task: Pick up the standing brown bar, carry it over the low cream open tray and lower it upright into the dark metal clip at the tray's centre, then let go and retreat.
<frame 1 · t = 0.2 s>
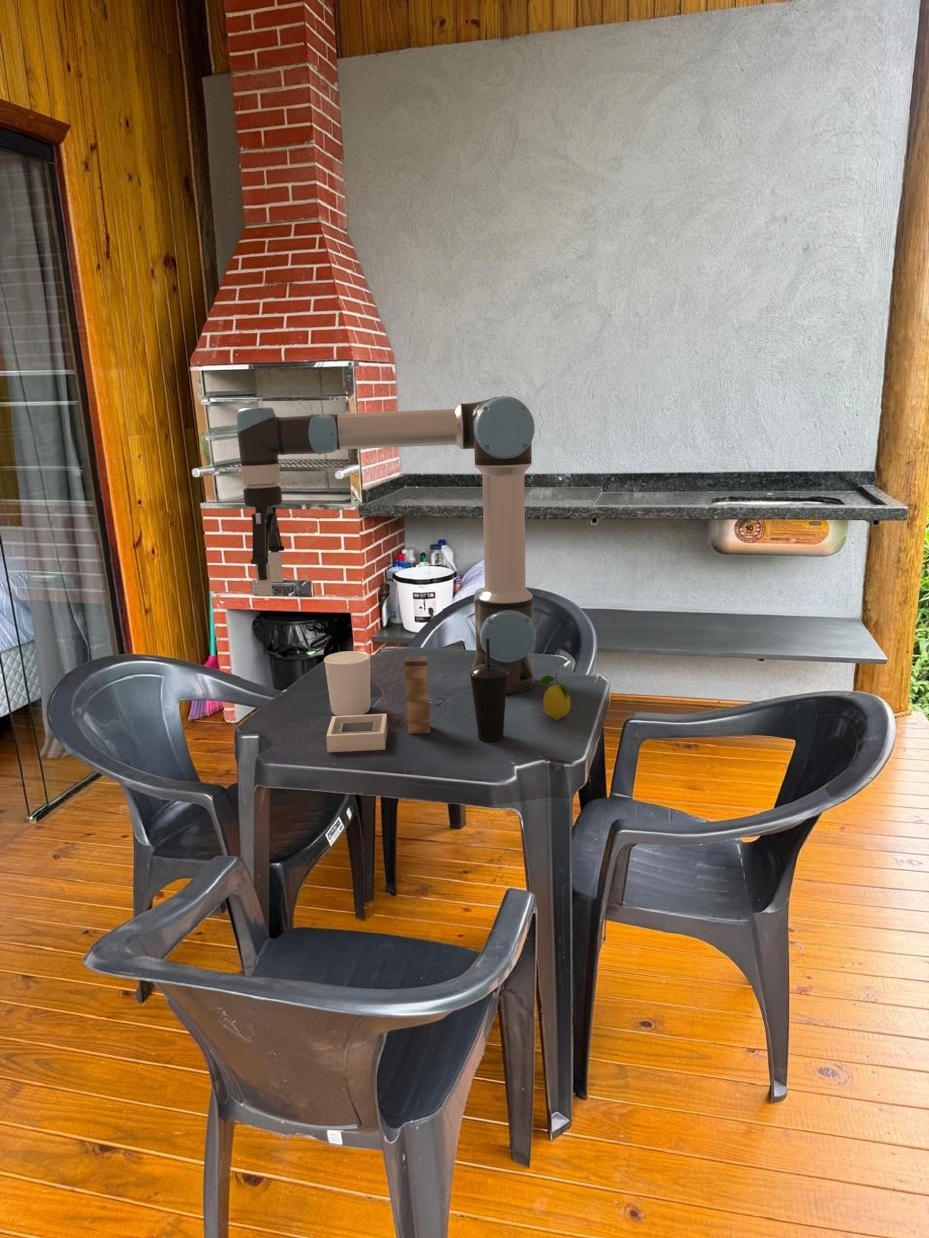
hand: (271, 588, 184), 28 cm above the table, fingers open, 13 cm apart
cream cup: (351, 711, 192), on the table
lemon: (556, 720, 181), on the table
cream open tray: (358, 740, 174), on the table
drinking cup: (490, 738, 173), on the table
brown bar: (419, 730, 178), on the table
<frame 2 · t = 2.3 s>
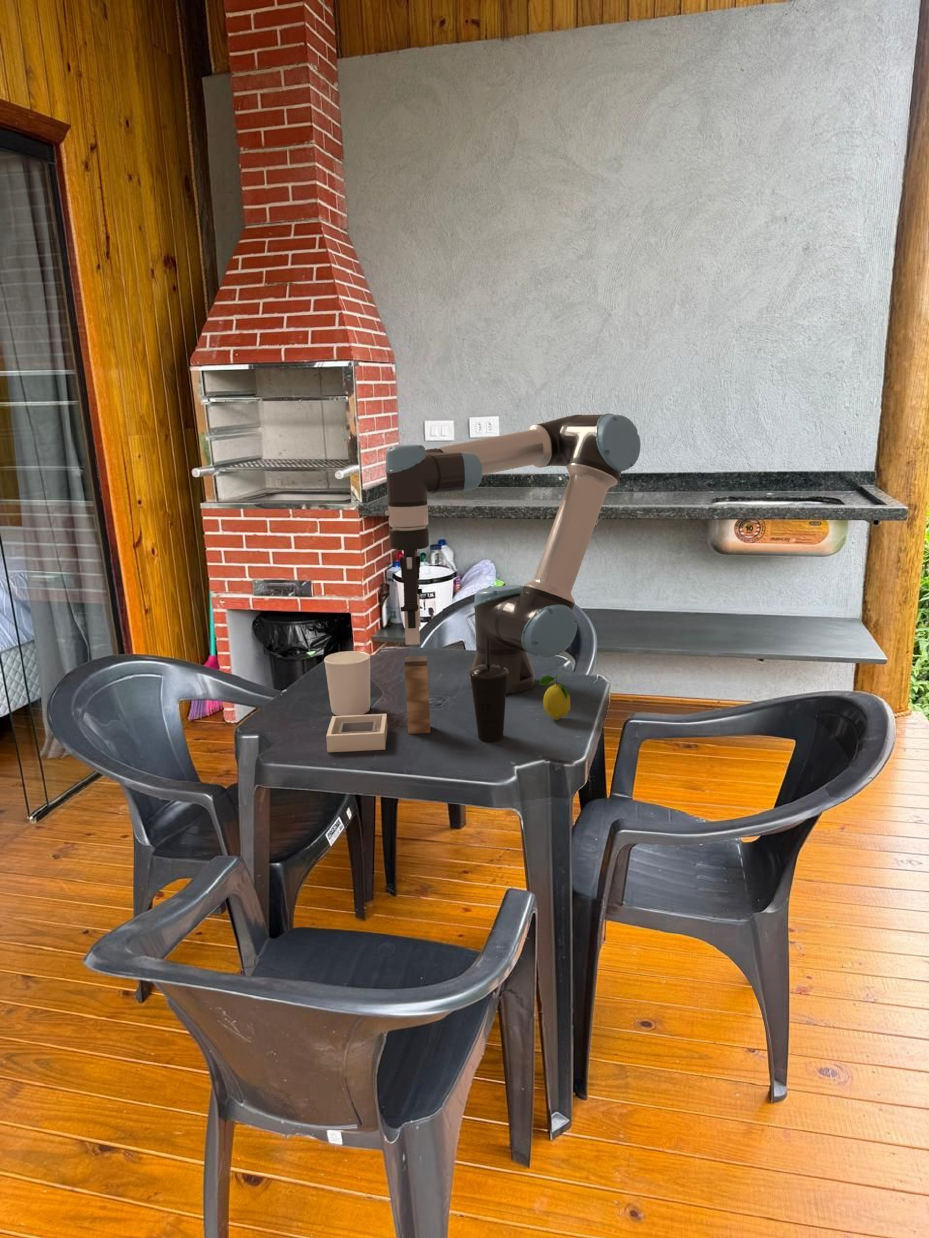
hand: (413, 635, 174), 20 cm above the table, fingers open, 13 cm apart
nothing on the table moved.
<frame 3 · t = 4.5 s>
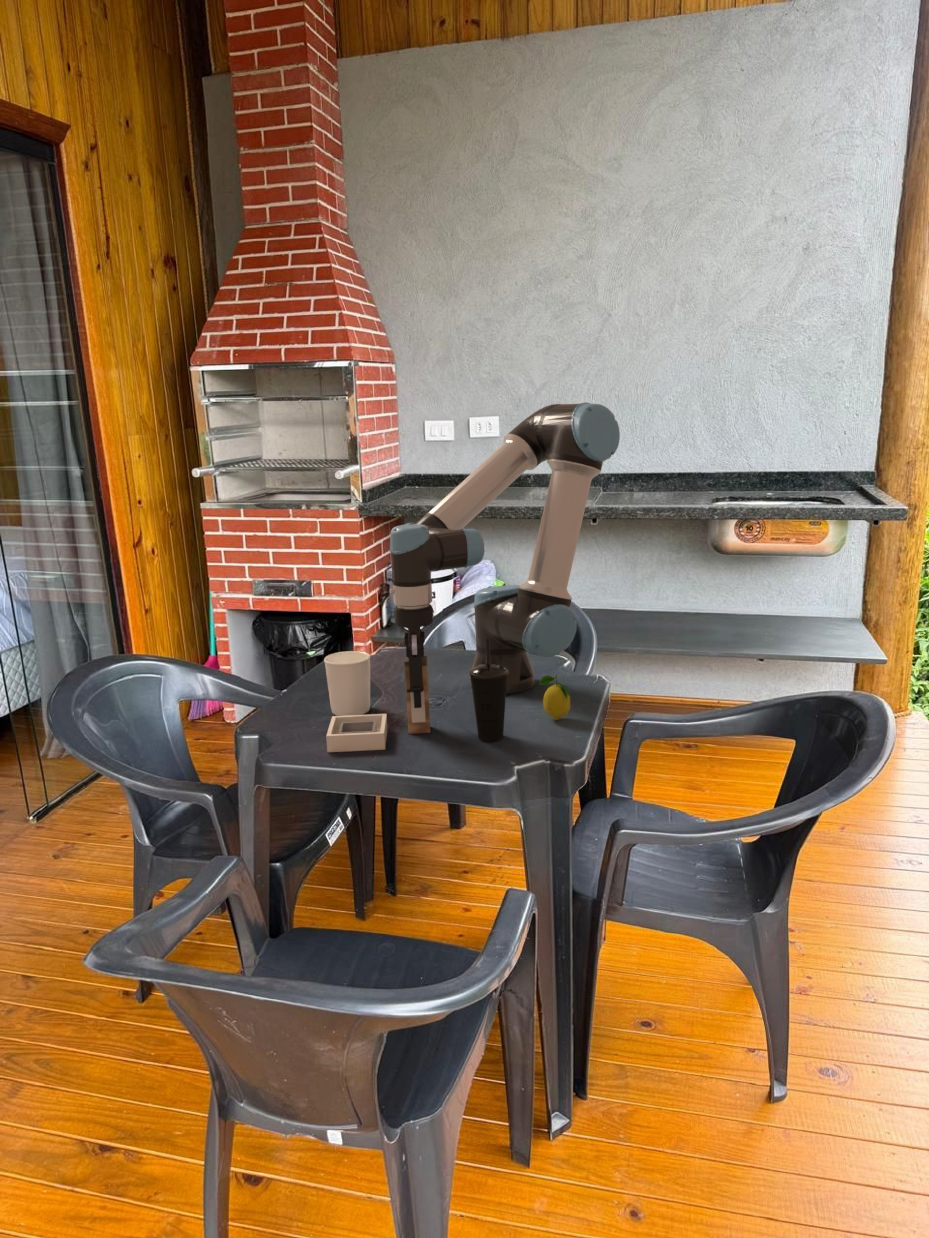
hand: (418, 717, 178), 3 cm above the table, fingers closed on brown bar, 3 cm apart
brown bar: (419, 730, 178), on the table, touching gripper
everything else where it was.
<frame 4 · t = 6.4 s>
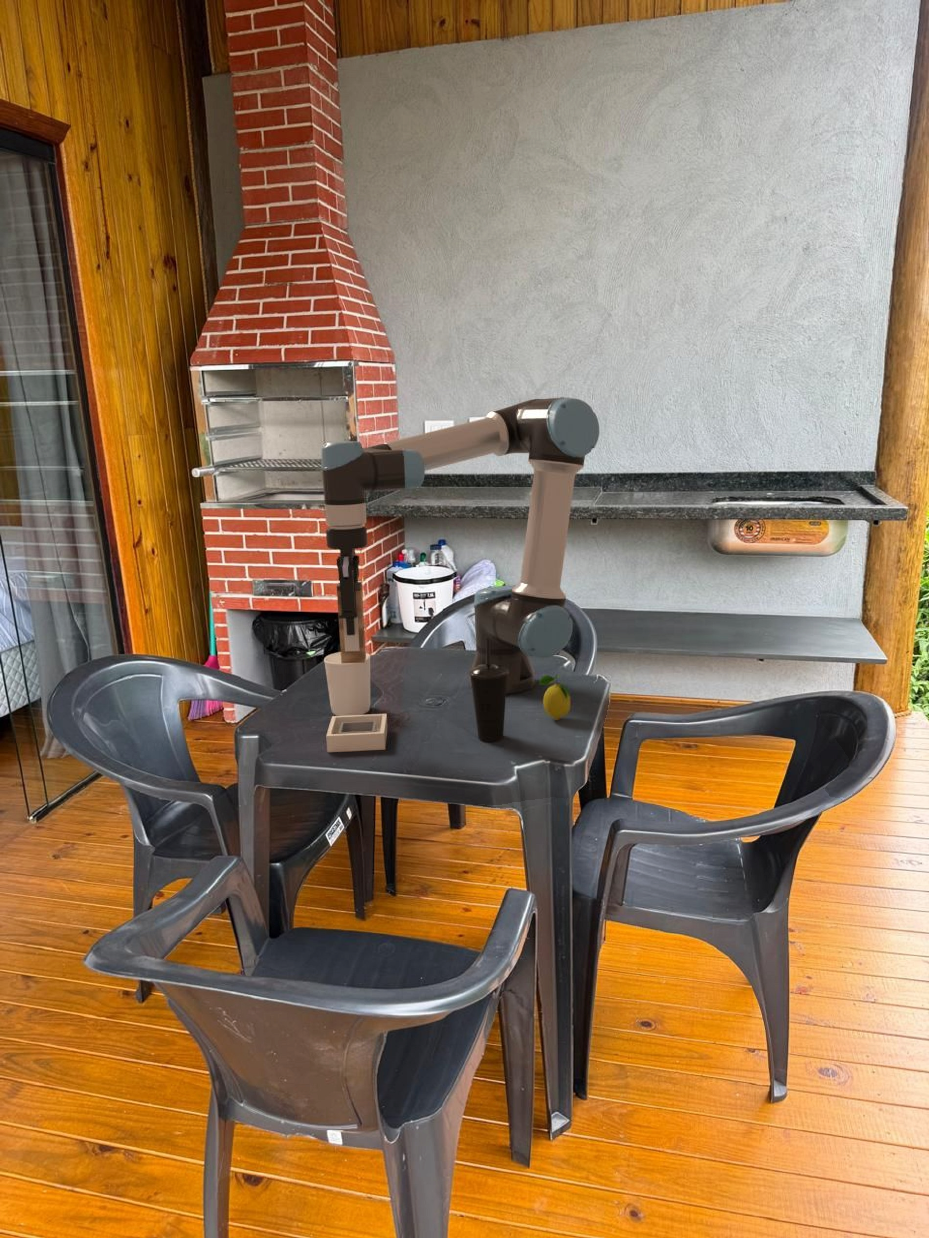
hand: (353, 647, 170), 19 cm above the table, fingers closed on brown bar, 3 cm apart
brown bar: (353, 660, 170), point 16 cm above the table, touching gripper
everything else where it was.
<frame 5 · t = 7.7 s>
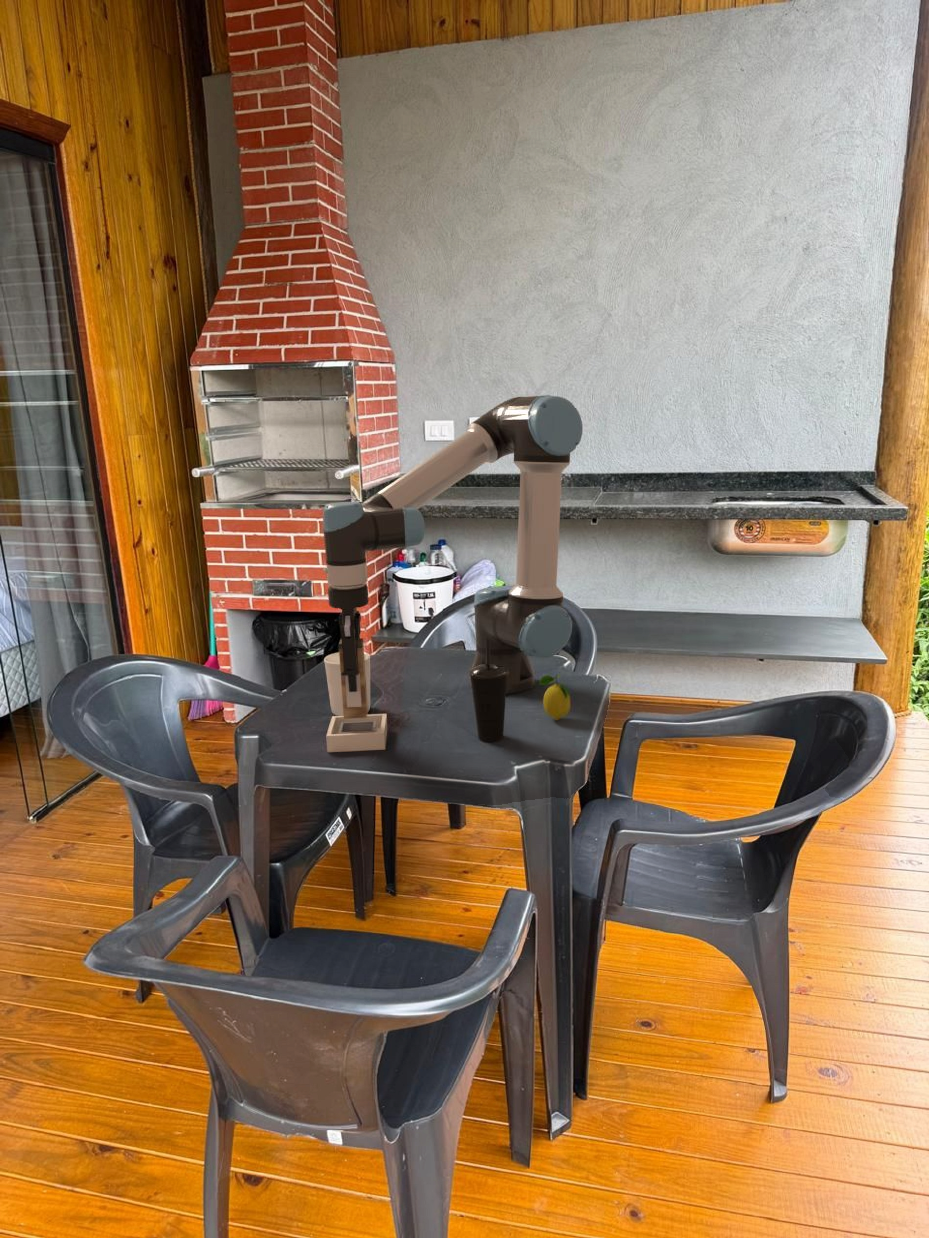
hand: (355, 702, 172), 8 cm above the table, fingers closed on brown bar, 3 cm apart
brown bar: (355, 715, 173), point 5 cm above the table, touching gripper
everything else where it was.
when the fingers open (4 cm above the table, at t = 8.6 s): brown bar stays where it is, resting on cream open tray.
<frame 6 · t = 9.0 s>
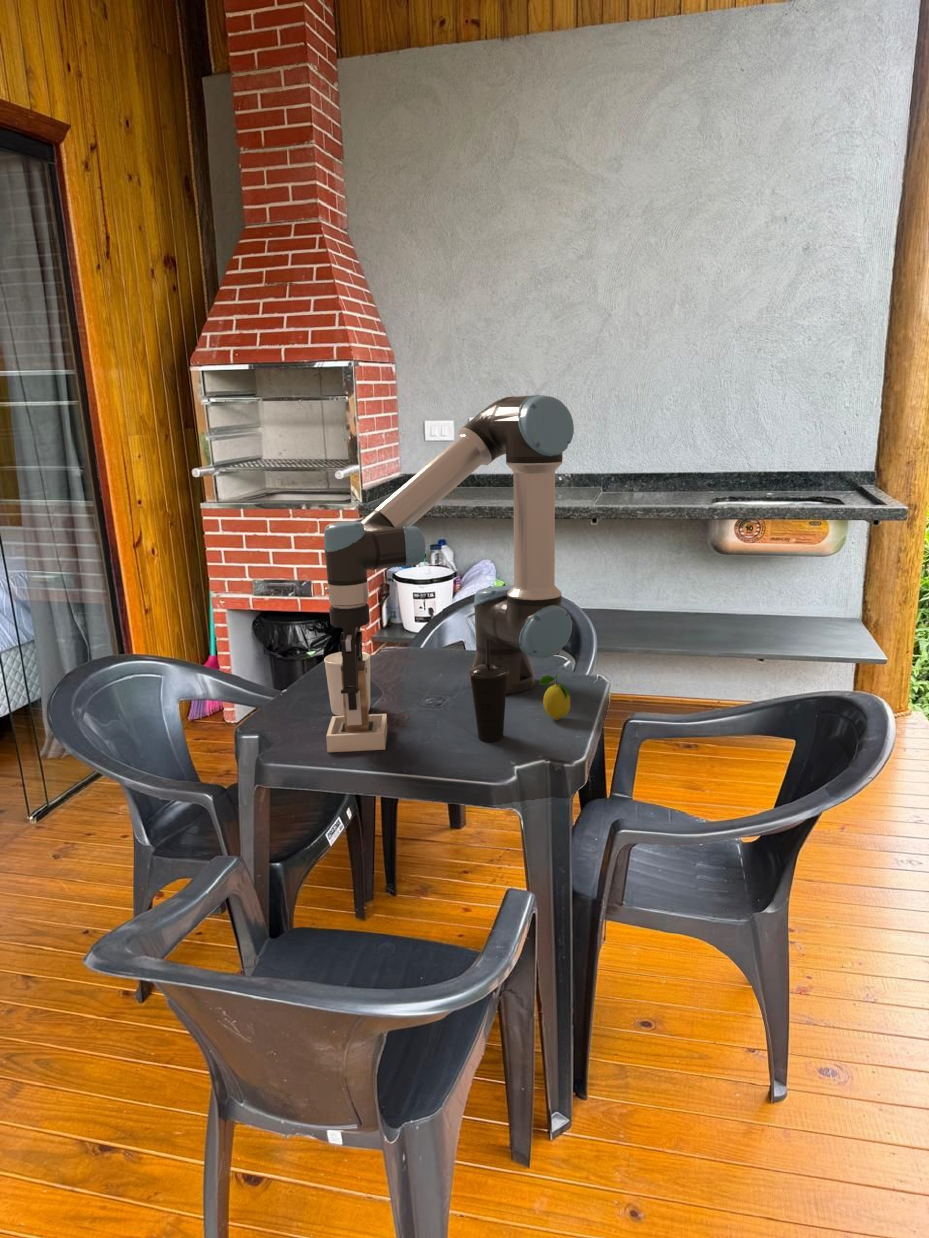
hand: (356, 714, 173), 5 cm above the table, fingers open, 10 cm apart
brown bar: (358, 736, 174), point 1 cm above the table, touching cream open tray
everything else where it was.
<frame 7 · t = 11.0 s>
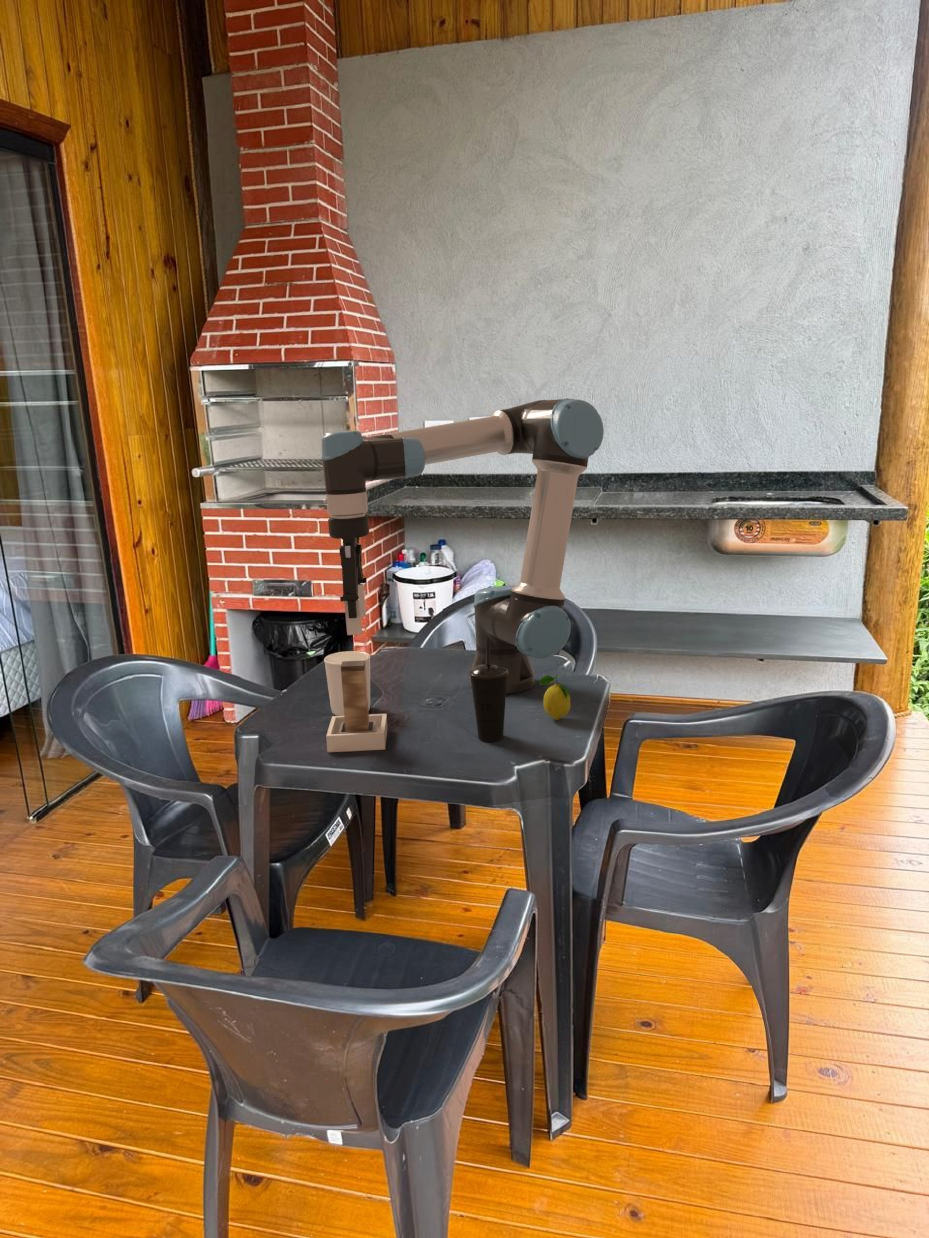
hand: (357, 625, 171), 23 cm above the table, fingers open, 13 cm apart
nothing on the table moved.
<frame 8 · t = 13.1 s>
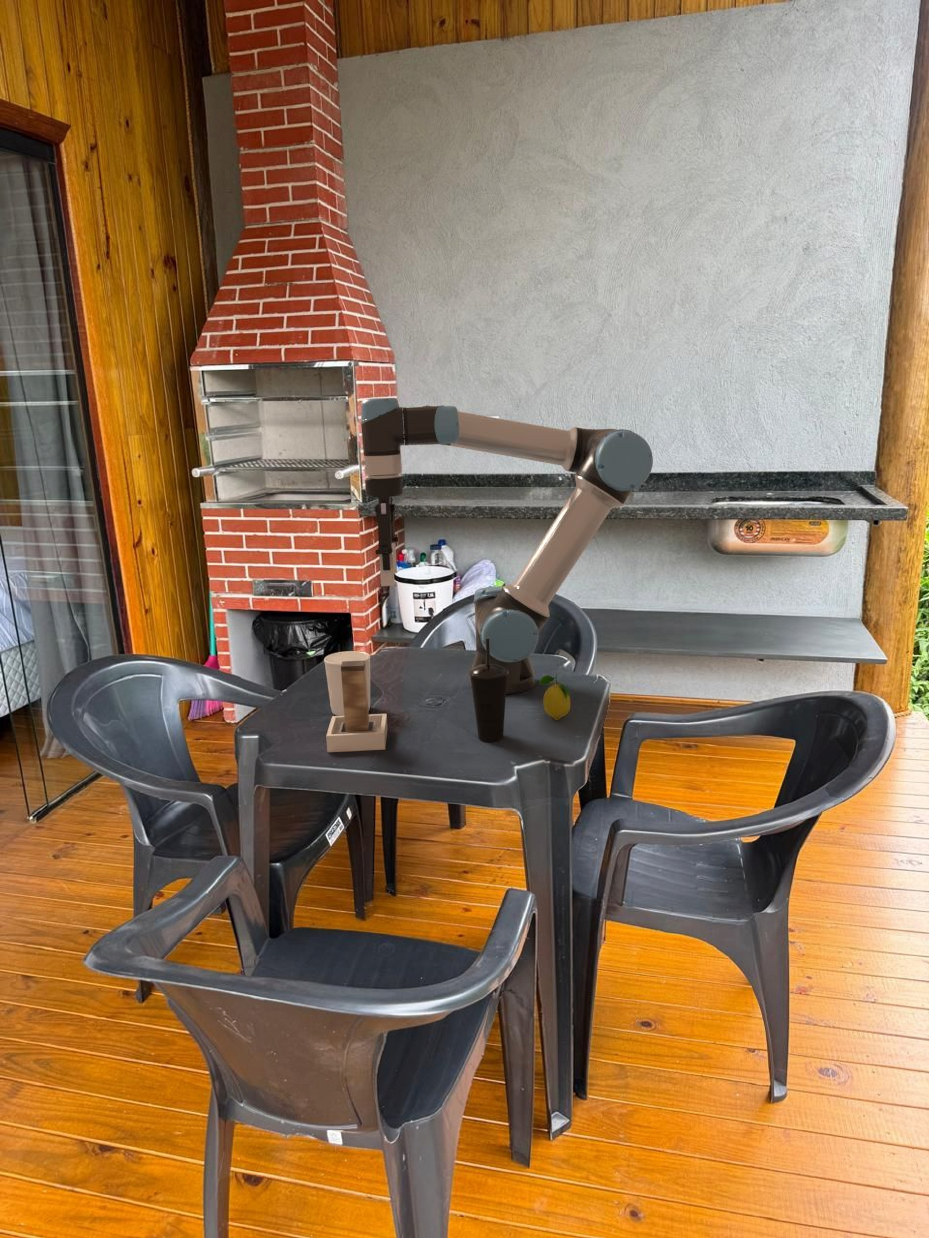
hand: (389, 579, 184), 29 cm above the table, fingers open, 13 cm apart
nothing on the table moved.
at the end: brown bar 0.0 cm off-centre on the cream open tray, point 0.8 cm above the cream open tray's base; brown bar tilted 0°; the gripper is holding nothing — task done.
